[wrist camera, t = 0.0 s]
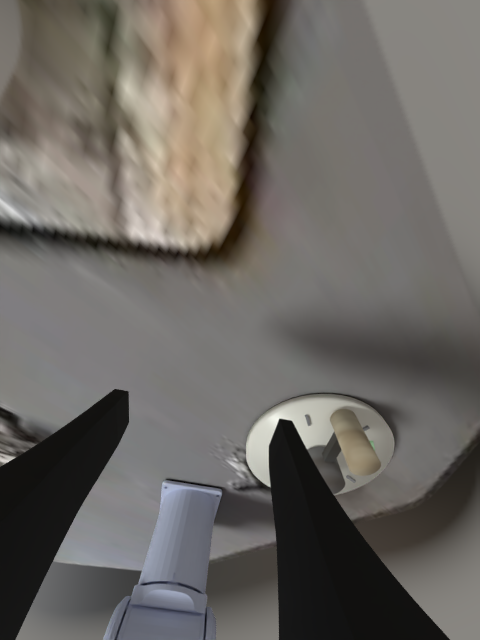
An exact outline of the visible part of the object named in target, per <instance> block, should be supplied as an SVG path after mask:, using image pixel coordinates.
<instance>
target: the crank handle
mask: <svg viewBox="0 0 480 640" xmlns="http://www.w3.org/2000/svg"><path fill="white" fill-rule="evenodd" d="M330 422H331V424H332V427H333V429H334V433H333V434H332V436H331V438H330V440H329V442H328V443H327V445H326V447H323V446H317V447H313V448H310V449H308V452H309V454H310V456H311V458H312V459H313V461H314V463H315V465H316V467H317V468H318V470H319V472H320V474H321V475H322V477H323V479H324V480H325V482H326V483H327V485H328V487H329V488H330V490H331V492H332V493H333V494H336V493H338V492H340V491H341V490H342V489H343V488H344V487H345V480H344V477H343V475H342V472H341V469H340V466H339V464H338V461H337V457H338V455H339V453H340V452H341V450H342V452H343V455H344V457H345V460H346V462H347V465H348V467H349V470H350V471H351V472H352V473H353V474H355V475H359V476H366V475H371V474H373V473H375V472H377V471H378V470H379V469H380V467H381V462H380V460H379V458H378V456H377V454H376V453H375V451H374V449H373V447H372V445H371V443H370V441H369V439H368V438H367V436H366V434H365V432H364V430H363V428H362V426H361V424H360V423H359V421H358V419H357V417H356V415H355V413H354V412H353V411H351V410H349V409H340V410H337V411H335V412H334V413H333V414H332V415H331V417H330Z"/></svg>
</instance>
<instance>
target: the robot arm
mask: <svg viewBox="0 0 480 640" xmlns="http://www.w3.org/2000/svg"><path fill="white" fill-rule="evenodd" d="M128 423H129V394H128V391H123V390H118V389H115V390H113V391H112V392H110V393H109V394H108V395H106V396H105V397H104V398H102V399H101V400H100V401H98V402H97V403H96V404H94V405H93V406H92V407H90V408H89V409H88V410H86V411H85V412H84V413H82V414H81V415H79V416H78V417H77V418H75V419H74V420H72V421H71V422H70V423H68V424H67V425H65V426H64V427H63V428H61V429H60V430H58V431H57V432H55V433H54V434H52V435H51V436H49V437H48V438H46V439H45V440H43V441H42V442H40V443H39V444H37V445H36V446H34V447H32V448H31V449H29V450H28V451H26V452H24V453H23V454H21V455H20V456H18V457H16V458H14V459H13V460H11V461H9V462H8V463H6V464H4V465H3V466H1V467H0V640H15V639H16V637H17V635H18V633H19V630H20V628H21V626H22V624H23V622H24V620H25V618H26V615H27V613H28V611H29V609H30V607H31V605H32V603H33V600H34V599H35V597H36V594H37V592H38V590H39V588H40V586H41V584H42V582H43V580H44V577H45V576H46V574H47V572H48V570H49V568H50V565H51V563H52V562H53V560H54V558H55V556H56V554H57V552H58V549H59V547H60V545H61V543H62V542H63V540H64V538H65V536H66V534H67V532H68V530H69V528H70V526H71V524H72V522H73V520H74V518H75V516H76V514H77V512H78V511H79V509H80V507H81V505H82V504H83V502H84V500H85V499H86V497H87V495H88V494H89V492H90V490H91V489H92V487H93V485H94V484H95V482H96V481H97V479H98V477H99V476H100V474H101V472H102V471H103V469H104V468H105V466H106V464H107V463H108V461H109V459H110V458H111V456H112V454H113V453H114V451H115V449H116V448H117V446H118V444H119V442H120V440H121V438H122V436H123V434H124V432H125V430H126V428H127V425H128ZM269 476H270V485H271V494H272V503H273V512H274V520H275V529H276V541H277V565H278V599H279V640H450V639H449V638H448V637H447V636H446V635H445V634H444V633H443V631H442V630H441V629H440V628H439V627H438V626H437V625H436V624H435V623H434V622H433V621H432V619H431V618H430V617H429V616H428V615H427V614H426V613H425V612H424V611H423V610H422V608H421V607H420V606H419V605H418V604H417V603H416V602H415V601H414V600H413V598H412V597H411V596H410V595H409V594H408V592H407V591H406V590H405V589H404V588H403V587H402V585H401V584H400V583H399V582H398V581H397V579H396V578H395V577H394V576H393V575H392V573H391V572H390V571H389V570H388V568H387V567H386V566H385V565H384V563H383V562H382V561H381V560H380V558H379V557H378V556H377V554H376V553H375V552H374V551H373V550H372V548H371V547H370V546H369V544H368V543H367V542H366V541H365V539H364V538H363V536H362V535H361V534H360V532H359V531H358V530H357V528H356V527H355V526H354V524H353V523H352V521H351V520H350V518H349V517H348V516H347V514H346V513H345V511H344V510H343V508H342V507H341V505H340V504H339V502H338V501H337V499H336V498H335V496H334V495H333V493H332V492H331V490H330V488H329V487H328V485H327V483H326V482H325V480H324V479H323V477H322V475H321V474H320V472H319V470H318V468H317V467H316V465H315V463H314V461H313V459H312V458H311V456H310V454H309V452H308V450H307V448H306V447H305V445H304V443H303V441H302V439H301V437H300V435H299V433H298V431H297V429H296V427H295V425H294V423H293V422H292V421H291V420H286V419H280V418H279V421H278V424H277V426H276V429H275V431H274V434H273V436H272V439H271V442H270V444H269ZM221 496H222V490H221V489H219V488H212V487H206V486H200V485H194V484H187V483H181V482H175V481H169V480H165V481H163V484H162V493H161V504H160V514H159V517H158V520H157V524H156V527H155V530H154V533H153V537H152V540H151V543H150V547H149V550H148V553H147V557H146V560H145V563H144V567H143V570H142V573H141V577H140V580H139V583H138V585H135V587H134V590H133V593H132V596H126V597H125V598H124V599H123V601H121V602H120V603H119V604H118V605H117V607H116V609H115V611H114V613H113V615H112V617H111V620H110V622H109V625H108V627H107V630H106V633H105V636H104V638H103V640H216V618H215V617H214V614H213V611H212V608H211V607H206V603H207V595H206V594H205V590H206V581H207V572H208V564H209V556H210V547H211V539H212V530H213V523H214V520H215V516H216V513H217V509H218V506H219V503H220V499H221Z"/></svg>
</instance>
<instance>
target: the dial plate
mask: <svg viewBox="0 0 480 640" xmlns="http://www.w3.org/2000/svg"><path fill="white" fill-rule="evenodd" d="M340 409H349V410H351V411H353V412H354V413H355V415H356V417H357V419H358V421H359V423H360V424H361V426H362V428H363V430H364V432H365V434H366V436H367V438H368V439H369V441H370V443H371V445H372V447H373V449H374V451H375V453H376V454H377V456H378V458H379V460H380V462H381V467H380V469H379V470H378V471H377V472H375V473H373V474H371V475H366V476H359V475H355V474H353V473H352V472H351V471H350V470H349V467H348V465H347V462H346V460H345V457H344V455H343V452H342V450H341V452H340V453H339V455H338V457H337V461H338V464H339V466H340V469H341V472H342V475H343V477H344V480H345V487H344V488H343V489H342V490H341V491H340V492H338V493H336V494H333V495H337V494H341V493H345V492H348V491H351V490H354V489H356V488H359V487H361V486H363V485H365V484H367V483H368V482H370V481H371V480H373V479H374V478H376V477H377V476H378V475H379V474H380V473H382V471H383V470H384V469H385V468H386V467H387V465H388V464H389V462H390V460H391V458H392V456H393V453H394V445H395V442H394V437H393V434H392V431H391V429H390V428H389V426H388V425H387V423H386V422H385V420H384V419H383V417H382V416H381V415H380V414H379V413H378V412H377V411H376V410H375V409H374V408H372V407H371V406H370V405H368V404H366V403H364V402H362V401H360V400H357V399H355V398H351V397H347V396H343V395H336V394H311V395H305V396H300V397H296V398H292V399H289V400H287V401H284V402H282V403H280V404H278V405H276V406H274V407H272V408H271V409H269V410H268V411H266V412H265V413H264V414H262V415H261V416H260V417H259V418H258V419H257V420H256V422H255V423H254V424H253V426H252V427H251V429H250V431H249V434H248V436H247V441H246V458H247V462H248V465H249V467H250V469H251V471H252V472H253V474H254V475H255V476H256V477H257V478H258V479H259V480H260V481H261V482H263V483H264V484H266V485H267V486H269V487H271V485H270V476H269V444H270V442H271V439H272V436H273V434H274V431H275V429H276V426H277V424H278V421H279V418H280V419H286V420H291V421H292V422H293V423H294V425H295V427H296V429H297V431H298V433H299V435H300V437H301V439H302V441H303V443H304V445H305V447H306V448H307V450H308V449H310V448H313V447H317V446H323V447H326V445H327V443H328V442H329V440H330V438H331V436H332V434H333V433H334V429H333V427H332V424H331V422H330V417H331V415H332V414H333V413H334V412H335V411H337V410H340Z"/></svg>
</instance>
